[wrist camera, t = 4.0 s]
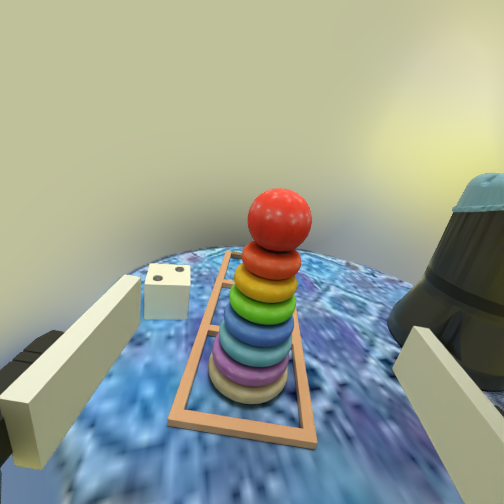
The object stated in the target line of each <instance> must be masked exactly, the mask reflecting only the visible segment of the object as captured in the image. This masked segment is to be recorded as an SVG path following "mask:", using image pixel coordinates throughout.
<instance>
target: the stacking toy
mask: <svg viewBox="0 0 504 504" xmlns="http://www.w3.org/2000/svg"><path fill="white" fill-rule="evenodd" d="M311 223H312V217H311V211H310V208H309V206H308V204H307V202H306V201H305V200H304V199H303V198H302V197H301V196H300V195H299V194H297V193H295V192H293V191H291V190H288V189H272V190H268V191H266V192H264V193H262V194H261V195H260V196H258V197H257V198H256V199H255V201H254V202H253V204H252V205H251V207H250V210H249V214H248V228H249V231H250V234H251V236H252V238H253V239H254V240H255V241H253V242H250V243H249V244H247V245H246V246H245V248H244V250H243V252H242V261H243V263H242V264H241V265H239V266H238V268H237V269H236V271H235V274H234V282H235V284H234V285H233V286H232V288H231V290H230V294H229V300H230V301H229V302H228V304H227V305H226V307H225V311H224V319H223V321H222V323H221V325H220V328H219V333H218V335H217V336H216V338H215V340H214V342H213V346H212V353H211V355H210V359H209V366H208V368H209V375H210V378H211V380H212V382H213V384H214V386H215V387H216V388H217V389H218V390H219V391H220V392H221V393H222V394H223V395H224V396H226V397H227V398H229V399H231V400H234V401H236V402H240V403H244V404H259V403H264V402H267V401H269V400H271V399H273V398H274V397H276V396H277V395H278V394H279V393H280V392H281V391H282V390H283V388H284V386H285V384H286V381H287V377H288V368H287V365H288V361H289V351H290V349H291V346H292V332H293V329H294V317H293V313H294V311H295V308H296V299H295V296H294V293H295V292H296V289H297V279H296V277H295V274H296V273H297V272H298V271H299V269H300V266H301V258H300V255H299V254H298V252H297V251H296V250H295V248H296V247H298V246H299V245H300V244H301V243H302V242H303V241H304V240H305V239H306V237H307V236H308V234H309V231H310V228H311Z"/></svg>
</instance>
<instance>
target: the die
mask: <svg viewBox="0 0 504 504" xmlns="http://www.w3.org/2000/svg"><path fill="white" fill-rule="evenodd" d="M189 294H190V265H171V264H151V263H150V266H149V269H148V273H147V277H146V281H145V288H144V320H187V317H188V305H189Z"/></svg>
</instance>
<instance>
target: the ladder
mask: <svg viewBox="0 0 504 504" xmlns="http://www.w3.org/2000/svg"><path fill="white" fill-rule="evenodd" d="M230 257H232V258H238V259H242V253H239V252H233V251H226V254H225V256H224V259H223V262H222V265H221V268H220V271H219V274H218V276H217V279H216V282H215V285H214V288H213V291H212V294H211V297H210V299H209V302H208V305H207V308H206V311H205V314H204V317H203V319H202V322H201V325H200V328H199V331H198V334H197V337H196V339H195V342H194V345H193V348H192V351H191V354H190V357H189V360H188V362H187V365H186V368H185V371H184V374H183V377H182V380H181V382H180V385H179V388H178V391H177V394H176V397H175V400H174V402H173V405H172V408H171V411H170V414H169V417H168V422H167V426H172V427H178V428H184V429H191V430H197V431H203V432H209V433H215V434H222V435H228V436H234V437H240V438H247V439H253V440H259V441H265V442H272V443H278V444H284V445H290V446H297V447H303V448H309V449H315V448H316V446H317V437H316V431H315V425H314V418H313V412H312V406H311V400H310V393H309V387H308V381H307V375H306V368H305V362H304V356H303V350H302V343H301V337H300V331H299V325H298V318H297V312H296V308H295V311H294V313H293V317H294V329H293V332H292V346H291V349H292V355H293V364H294V373H295V382H296V391H297V400H298V410H299V419H300V428H295V427H289V426H283V425H277V424H270V423H264V422H258V421H252V420H246V419H239V418H233V417H227V416H221V415H215V414H209V413H202V412H196V411H190V410H185V408H186V405H187V402H188V398H189V395H190V392H191V388H192V385H193V381H194V378H195V375H196V371H197V368H198V365H199V361H200V358H201V355H202V351H203V348H204V345H205V341H206V338H207V335H208V336H214V337H216V336H217V335H218V333H219V328H220V326H216V325H210V324H211V321H212V318H213V314H214V311H215V308H216V304H217V301H218V298H219V294H220V291H221V288H222V287H225V288H232V286H233V285H234V284H235V282H234V281H231V280H225V279H224V278H225V274H226V271H227V267H228V264H229V261H230Z"/></svg>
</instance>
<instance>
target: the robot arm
mask: <svg viewBox="0 0 504 504" xmlns="http://www.w3.org/2000/svg"><path fill="white" fill-rule="evenodd" d="M452 211H453V214H452V216H451V219H450V221H449V223H448V225H447V227H446V229H445V231H444V233H443V236H442V238H441V240H440V242H439V244H438V246H437V248H436V250H435V252H434V254H433V256H432V259H431V260H430V262H429V265H428V267H427V269H426V271H425V273H424V275H423V277H422V279H421V280H420V281H419V282H418V283H417V284H416V285H415V286H414V287H413V288H412V289H411V290H410V291H409V292H408V293H407V294H406V295H405V296H404V297H403V298H402V299H401V300H400V301H398V302H397V303H396V304H395V306H394V307H393V309H392V311H391V314H390V316H389V318H388V326H389V329H390V331H391V333H392V335H393V336H394V338H395V339H396V340H397V341H398V342H399V344H400V345H401V346H402V347H403V348H402V350H401V352H400V354H399V356H398V358H397V360H396V362H395V364H394V366H393V368H392V369H393V371H394V373H395V375H396V377H397V379H398V380H399V382H400V384H401V386H402V388H403V390H404V392H405V393H406V395H407V397H408V399H409V401H410V403H411V405H412V406H413V408H414V410H415V412H416V414H417V416H418V418H419V420H420V421H421V423H422V425H423V427H424V429H425V431H426V433H427V434H428V436H429V438H430V440H431V442H432V444H433V446H434V447H435V449H436V451H437V453H438V455H439V457H440V459H441V460H442V462H443V464H444V466H445V468H446V470H447V472H448V473H449V475H450V477H451V479H452V481H453V483H454V485H455V487H456V488H457V490H458V492H459V494H460V496H461V498H462V500H463V501H464V503H465V504H504V412H503V411H502V410H501V409H500V408H499V407H497V406H495V405H493V404H492V403H491V402H490V401H489V399H488V398H487V397H486V396H485V395H484V393H483V392H482V391H481V390H480V389H484V390H491V391H501V390H504V174H502V173H501V174H500V173H485V174H481V175H479V176H477V177H475V178H474V179H472V180H471V181H470V182H469V183H468V185H467V187H466V189H465V190H464V192H463V194H462V196H461V198H460V199H459V201H458V203H457V205H456V206H455V207H453V209H452ZM140 298H141V277H136V276H130V275H124V276H123V277H122V278H120V279H119V280H118V281H117V282H116V283H115V284H114V285H113V286H112V287H111V288H110V289H109V290H108V291H107V292H106V293H105V294H104V295H103V296H102V297H101V298H100V299H99V300H98V301H97V302H96V303H95V304H94V305H93V306H92V307H91V308H90V309H89V310H88V311H87V312H85V313H84V314H83V315H82V316H81V317H80V318H79V319H78V320H77V321H76V322H75V323H74V324H73V325H72V326H71V327H70V328H69V329H68V330H67V331H66V332H61V331H56V330H52V331H50V332H48V333H46V334H44V335H42V336H40V337H38V338H37V339H35V340H34V341H33V342H32V343H31V344H30V345H28V346H27V347H26V348H25V349H24V351H23V352H20V353H19V354H18V355H17V356H16V357H15V358H14V359H13V361H12V362H9V363H8V364H7V365H6V366H4V367H3V368H2V369H1V370H0V467H1V466H2V465H3V464H4V462H5V461H6V460H7V459H8V458H9V456H10V455H11V454H12V456H13V460H14V463H15V466H19V467H25V468H31V469H38V470H42V469H43V468H44V466H45V465H46V463H47V462H48V460H49V459H50V457H51V456H52V454H53V453H54V451H55V450H56V449H57V447H58V446H59V444H60V443H61V441H62V440H63V438H64V437H65V435H66V434H67V432H68V431H69V429H70V428H71V426H72V425H73V423H74V422H75V420H76V419H77V417H78V416H79V414H80V413H81V411H82V410H83V408H84V407H85V406H86V404H87V403H88V401H89V400H90V398H91V397H92V395H93V394H94V392H95V391H96V389H97V388H98V386H99V385H100V383H101V382H102V380H103V379H104V377H105V376H106V374H107V373H108V371H109V370H110V368H111V367H112V365H113V364H114V363H115V361H116V360H117V358H118V357H119V355H120V354H121V352H122V351H123V349H124V348H125V346H126V345H127V343H128V342H129V340H130V339H131V337H132V336H133V334H134V333H135V331H136V330H137V328H138V327H139V325H140ZM1 475H2V473H1V470H0V504H1Z"/></svg>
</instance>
